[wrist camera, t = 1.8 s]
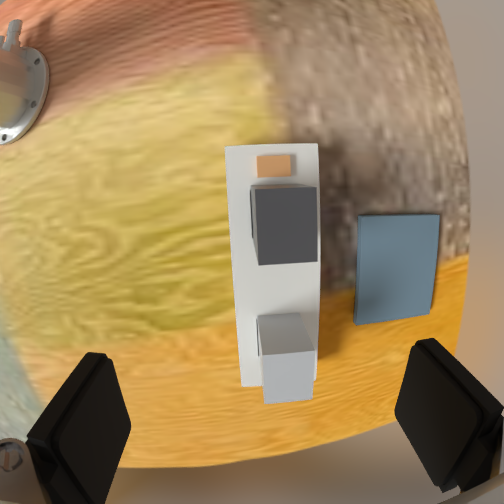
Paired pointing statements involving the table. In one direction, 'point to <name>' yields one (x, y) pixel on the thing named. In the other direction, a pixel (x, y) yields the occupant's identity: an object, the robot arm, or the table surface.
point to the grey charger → (285, 358)
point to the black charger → (284, 223)
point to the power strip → (244, 256)
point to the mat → (395, 266)
